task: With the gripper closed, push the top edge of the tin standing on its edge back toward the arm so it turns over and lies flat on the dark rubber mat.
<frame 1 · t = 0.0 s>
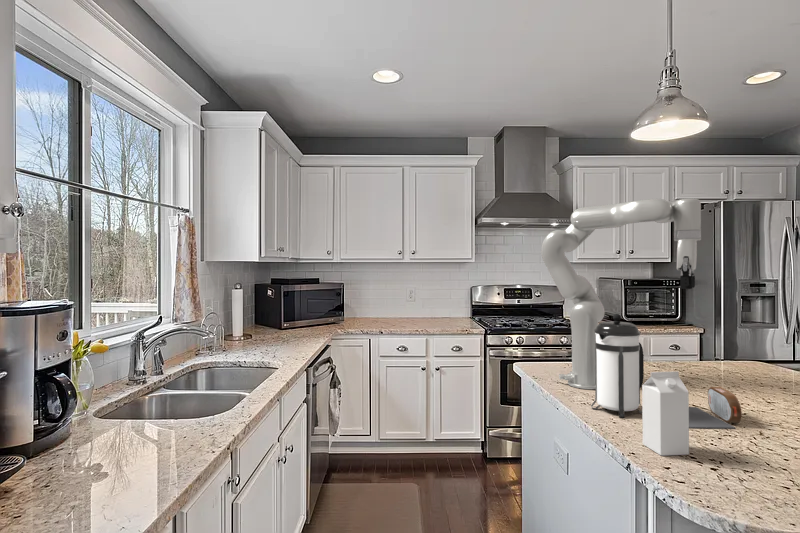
hand: (687, 288, 152), 37 cm above the countertop, tool pointing down, fingers open, 9 cm apart
milk carton: (665, 450, 112), on the countertop
tin: (723, 419, 134), on the countertop
coffee press: (618, 410, 143), on the countertop
rubber mat: (692, 417, 135), on the countertop
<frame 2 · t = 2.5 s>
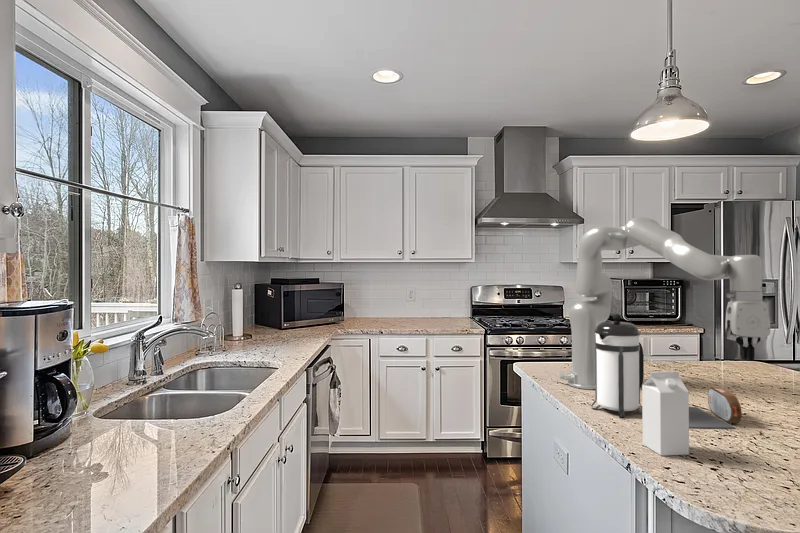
hand: (747, 359, 134), 17 cm above the countertop, tool pointing down, fingers closed
nothing on the countertop moved.
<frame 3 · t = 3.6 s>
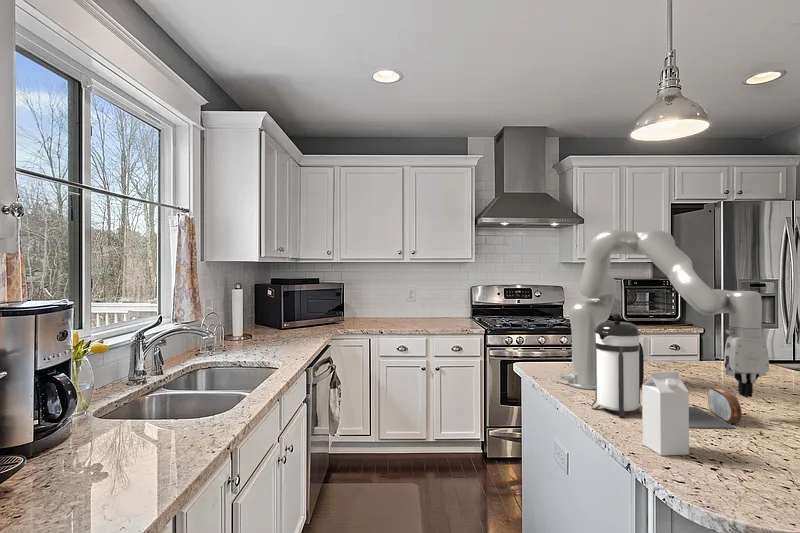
hand: (745, 395, 134), 7 cm above the countertop, tool pointing down, fingers closed
nothing on the countertop moved.
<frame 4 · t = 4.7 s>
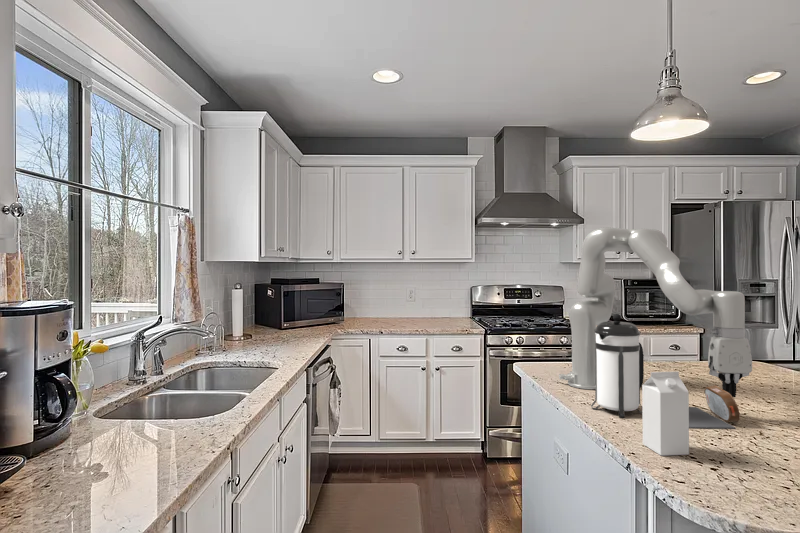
hand: (729, 395, 134), 7 cm above the countertop, tool pointing down, fingers closed
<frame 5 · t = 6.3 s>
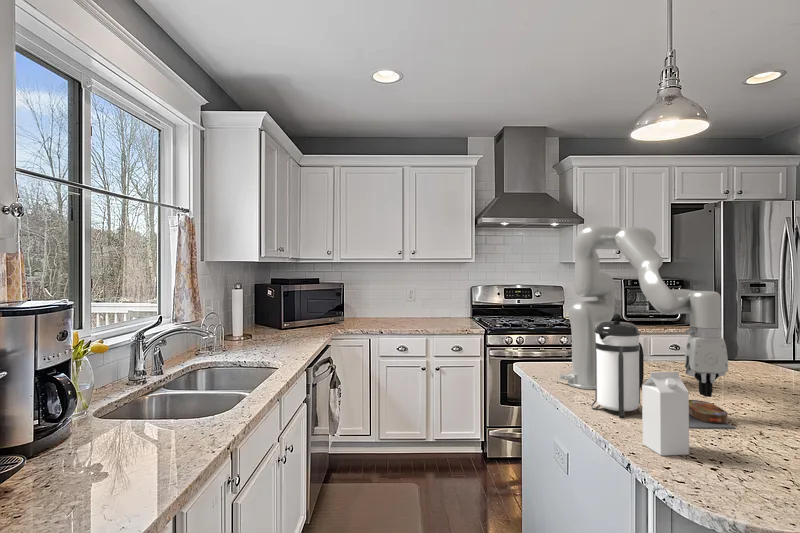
hand: (705, 395, 134), 7 cm above the countertop, tool pointing down, fingers closed
tin: (720, 413, 134), point 1 cm above the countertop, touching rubber mat
everything else where it was.
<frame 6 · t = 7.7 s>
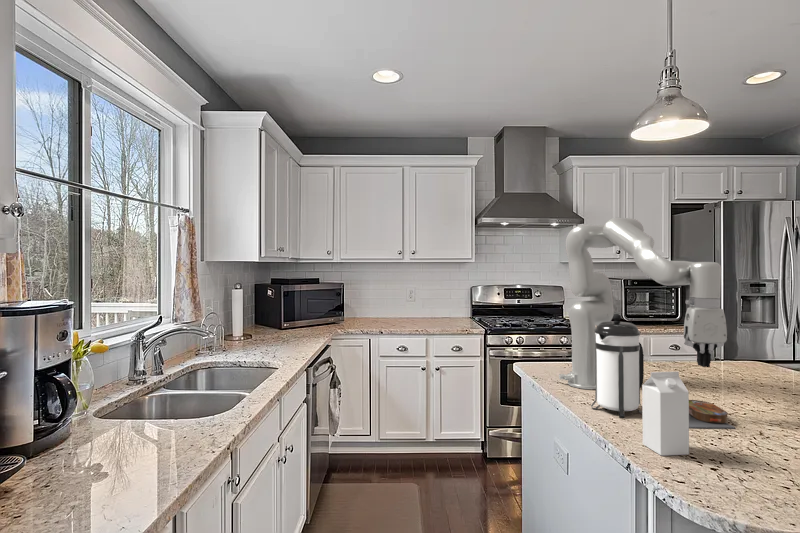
hand: (703, 365, 135), 15 cm above the countertop, tool pointing down, fingers closed
nothing on the countertop moved.
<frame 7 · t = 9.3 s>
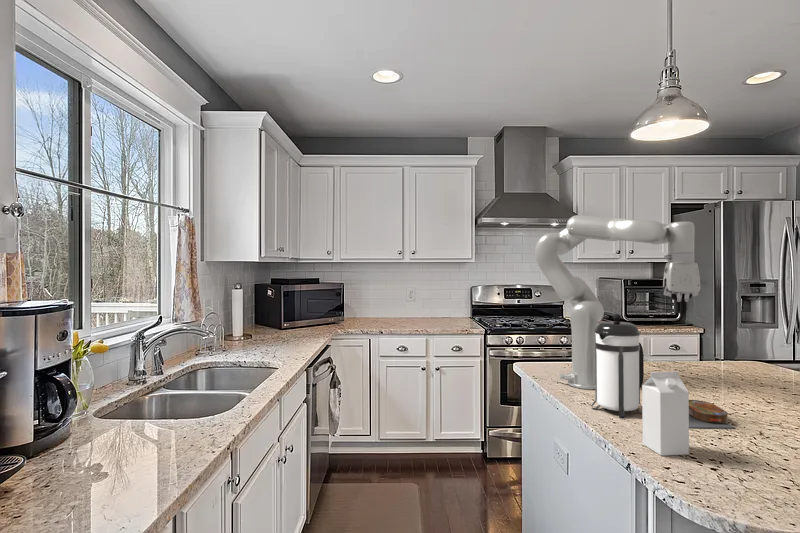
hand: (680, 313, 154), 29 cm above the countertop, tool pointing down, fingers closed
nothing on the countertop moved.
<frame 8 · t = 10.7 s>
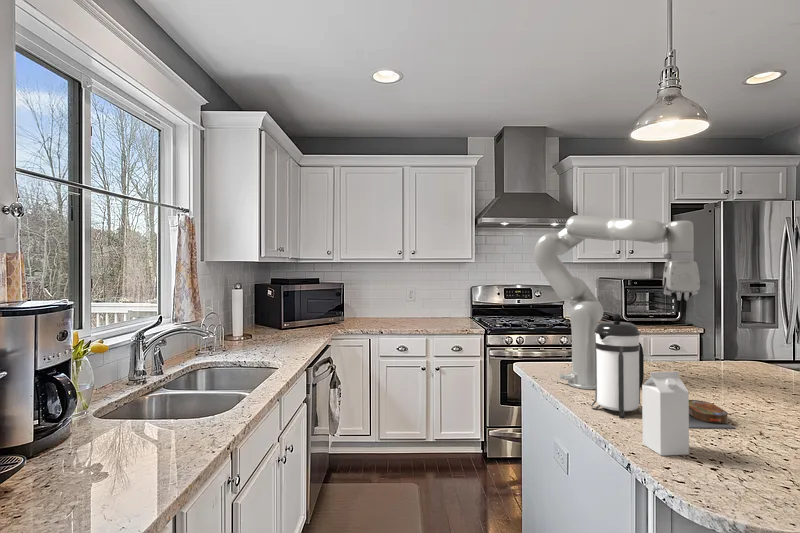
hand: (680, 311, 154), 29 cm above the countertop, tool pointing down, fingers closed
nothing on the countertop moved.
at the end: tin tilted 85°; tin inside the target area (2.8 cm from its centre), point 1.4 cm above the countertop; tin touching rubber mat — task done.
